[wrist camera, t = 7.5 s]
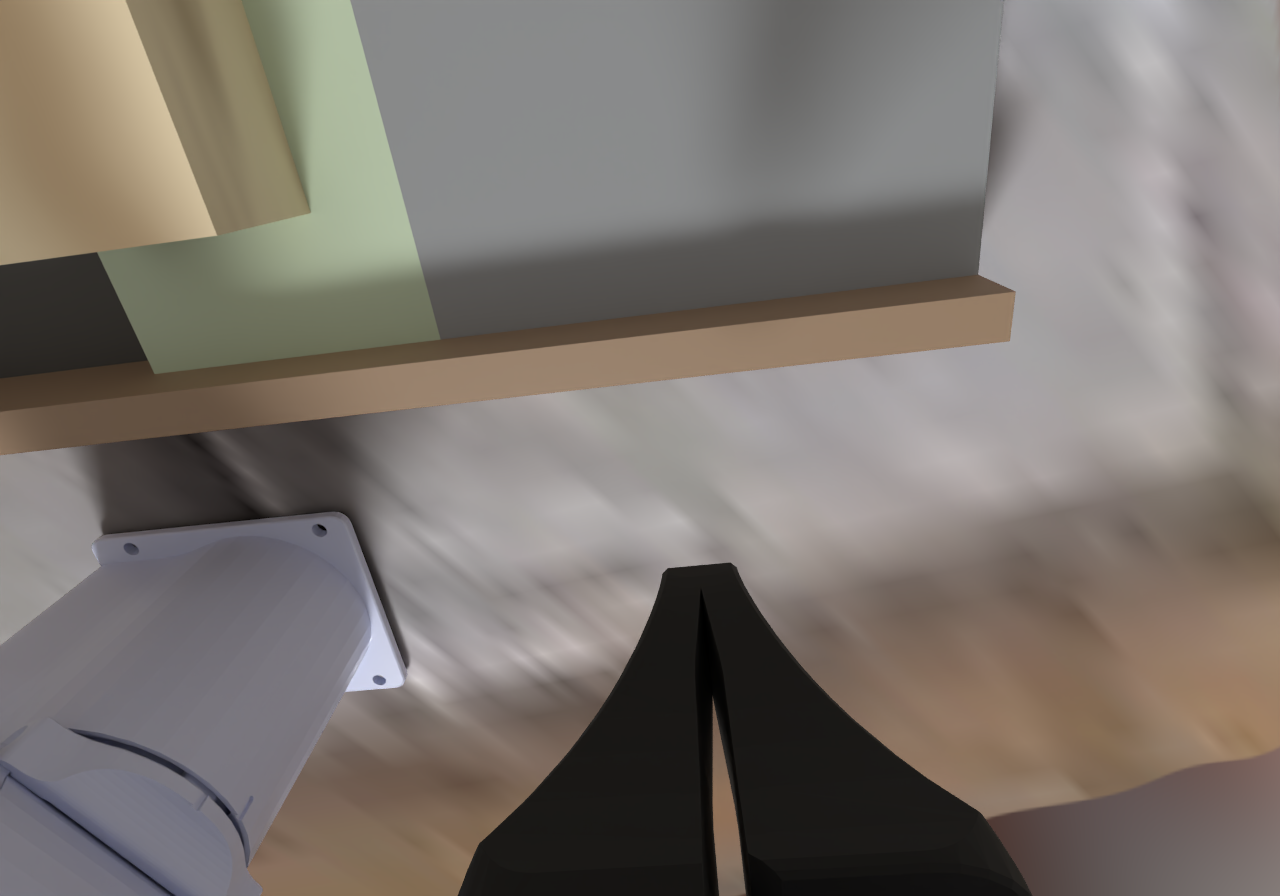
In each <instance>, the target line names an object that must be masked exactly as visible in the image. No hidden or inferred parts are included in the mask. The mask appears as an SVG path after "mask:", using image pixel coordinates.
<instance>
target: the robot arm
mask: <svg viewBox="0 0 1280 896" xmlns="http://www.w3.org/2000/svg"><path fill="white" fill-rule="evenodd" d="M317 524H321V525H323V526H324V527H325V528H326V529H327V531H325V530H322V529H320V528H319V527H318V525H317ZM133 544H134V545H136V546H137V547H135V546H134V545H133ZM92 551H93V553H94V555H95V557H96V558H97V560H98V562H99V564H100V565H101V567H100V568H98V569H97V570H96V571H95V572H93V573H92V574H91V575H90V576H88V577H87V578H86V579H84V580H83V581H82V582H81V583H79V584H78V585H77V586H76V587H74V588H73V589H72V590H70V591H69V592H68V593H67V594H65V595H64V596H63V597H62V598H60V599H59V600H58V601H56V602H55V603H54V604H53V605H51V606H50V607H49V608H48V609H46V610H45V611H44V612H42V613H41V614H40V615H39V616H37V617H36V618H35V619H34V620H32V621H31V622H30V623H28V624H27V625H26V626H25V627H23V628H22V629H21V630H20V631H18V632H17V633H16V634H14V635H13V636H12V637H11V638H9V639H8V640H7V641H6V642H4V643H3V644H2V645H0V896H260V895H261V893H262V891H263V889H262V887H261V886H260V885H259V884H258V883H257V882H256V881H255V880H254V879H253V878H252V876H251V875H250V874H249V872H248V870H247V867H248V865H249V864H250V862H251V860H252V858H253V856H254V855H255V853H256V851H257V849H258V847H259V846H260V844H261V842H262V840H263V838H264V837H265V835H266V833H267V831H268V829H269V828H270V826H271V824H272V822H273V820H274V819H275V817H276V815H277V813H278V811H279V810H280V808H281V806H282V804H283V802H284V801H285V799H286V797H287V795H288V793H289V792H290V790H291V788H292V786H293V784H294V783H295V781H296V779H297V777H298V775H299V774H300V772H301V770H302V768H303V766H304V765H305V763H306V761H307V759H308V757H309V756H310V754H311V752H312V750H313V748H314V747H315V745H316V743H317V741H318V739H319V737H320V736H321V734H322V732H323V730H324V728H325V727H326V725H327V723H328V721H329V719H330V718H331V716H332V714H333V712H334V710H335V709H336V707H337V705H338V703H339V701H340V700H341V698H342V696H343V694H344V692H347V691H360V690H372V689H385V688H396V687H400V686H401V685H403V684H404V681H405V679H406V677H407V671H406V668H405V665H404V663H403V660H402V657H401V655H400V652H399V649H398V646H397V644H396V641H395V638H394V636H393V633H392V630H391V628H390V625H389V622H388V620H387V617H386V614H385V612H384V609H383V606H382V604H381V601H380V598H379V596H378V593H377V590H376V588H375V585H374V582H373V580H372V577H371V574H370V571H369V569H368V566H367V563H366V561H365V558H364V555H363V553H362V550H361V547H360V545H359V542H358V539H357V537H356V534H355V531H354V529H353V526H352V523H351V521H350V520H349V518H348V517H347V516H346V515H344V514H342V513H340V512H324V513H314V514H304V515H295V516H285V517H275V518H265V519H255V520H245V521H235V522H226V523H216V524H206V525H196V526H186V527H176V528H166V529H157V530H147V531H137V532H127V533H117V534H107V535H103V536H101V537H99V538H98V539H97V540H95V541H94V542H93V543H92ZM378 675H381V676H383V677H384V678H383V677H380V676H378ZM712 695H713V698H712ZM713 700H714V705H715V710H716V715H717V720H718V725H719V730H720V735H721V740H722V745H723V750H724V755H725V759H726V764H727V769H728V774H729V779H730V784H731V789H732V794H733V799H734V804H735V810H736V816H737V822H738V829H739V837H740V846H741V854H742V863H743V872H744V881H745V889H746V896H1032V894H1031V892H1030V890H1029V888H1028V886H1027V884H1026V882H1025V880H1024V878H1023V876H1022V875H1021V873H1020V871H1019V870H1018V868H1017V866H1016V864H1015V863H1014V861H1013V860H1012V858H1011V857H1010V855H1009V854H1008V852H1007V851H1006V849H1005V847H1004V846H1003V844H1002V842H1001V841H1000V839H999V838H998V837H997V835H996V834H995V832H994V831H993V829H992V828H991V826H990V825H989V824H988V822H987V821H986V819H985V818H984V817H983V815H982V814H981V813H980V812H979V811H977V810H976V809H974V808H973V807H971V806H969V805H968V804H966V803H965V802H963V801H962V800H960V799H959V798H957V797H955V796H954V795H952V794H951V793H949V792H948V791H946V790H945V789H943V788H941V787H940V786H938V785H937V784H935V783H934V782H932V781H931V780H929V779H927V778H926V777H925V776H923V775H922V774H921V773H919V772H918V771H917V770H915V769H914V768H913V767H911V766H910V765H909V764H907V763H906V762H905V761H903V760H902V759H901V758H899V757H898V756H896V755H895V754H894V753H893V752H892V751H890V750H889V749H888V748H887V747H886V746H884V745H883V744H882V743H881V742H880V741H878V740H877V739H876V738H875V737H874V736H873V735H871V734H870V733H869V732H868V731H867V730H865V729H864V728H863V727H862V726H861V725H859V724H858V723H857V722H856V721H855V720H854V719H852V718H851V717H850V716H849V715H848V714H847V713H846V712H845V711H844V710H843V709H842V708H841V707H840V706H839V705H838V704H837V703H836V702H835V701H834V700H832V698H831V697H830V696H829V695H828V694H827V693H826V692H825V691H824V690H823V689H822V688H821V687H820V686H819V685H818V684H817V683H816V682H815V681H814V680H813V679H812V678H811V676H810V675H809V674H808V673H807V672H806V671H805V670H804V669H803V667H802V666H801V665H800V664H799V663H798V662H797V660H796V659H795V658H794V657H793V655H792V654H791V653H790V652H789V651H788V649H787V648H786V647H785V646H784V644H783V643H782V642H781V640H780V639H779V638H778V636H777V635H776V634H775V632H774V631H773V629H772V628H771V627H770V625H769V624H768V622H767V621H766V620H765V618H764V617H763V615H762V614H761V612H760V611H759V609H758V608H757V606H756V604H755V603H754V601H753V599H752V598H751V596H750V594H749V593H748V591H747V589H746V587H745V586H744V584H743V582H742V580H741V577H740V575H739V573H738V570H737V567H735V566H734V565H733V564H732V563H721V564H710V565H699V566H688V567H677V568H668V569H667V570H666V571H665V572H664V573H663V574H662V580H661V584H660V588H659V591H658V595H657V598H656V601H655V603H654V606H653V609H652V612H651V614H650V617H649V619H648V621H647V624H646V626H645V628H644V631H643V633H642V635H641V637H640V640H639V642H638V644H637V646H636V648H635V650H634V652H633V654H632V656H631V658H630V659H629V661H628V663H627V665H626V667H625V669H624V671H623V673H622V675H621V676H620V678H619V680H618V682H617V683H616V685H615V687H614V688H613V690H612V692H611V693H610V695H609V697H608V698H607V700H606V701H605V703H604V704H603V706H602V707H601V709H600V710H599V712H598V713H597V715H596V716H595V718H594V719H593V720H592V722H591V723H590V724H589V726H588V727H587V728H586V730H585V731H584V733H583V734H582V735H581V737H580V738H579V739H578V741H577V742H576V743H575V745H574V746H573V747H572V748H571V750H570V751H569V752H568V753H567V755H566V756H565V757H564V758H563V759H562V760H561V762H560V763H559V764H558V765H557V766H556V767H555V768H554V769H553V771H552V772H551V773H550V774H549V775H548V776H547V777H546V778H545V779H544V781H543V782H542V783H541V784H540V785H539V786H538V787H537V788H536V790H535V791H534V792H533V793H532V794H531V795H530V796H529V797H528V798H527V799H526V800H525V801H524V802H523V803H522V804H521V805H520V806H519V807H518V808H517V809H516V810H515V811H514V812H513V813H512V814H511V815H509V816H508V817H507V818H506V819H505V820H504V821H503V822H502V823H501V824H500V825H499V826H498V827H497V828H496V829H495V830H494V831H493V832H492V833H490V834H489V835H488V836H487V837H486V838H485V839H484V840H483V841H482V842H480V843H479V845H478V847H477V849H476V852H475V854H474V856H473V859H472V861H471V863H470V866H469V868H468V870H467V873H466V876H465V878H464V881H463V884H462V886H461V889H460V891H459V894H458V896H719V890H718V878H717V867H716V855H715V843H714V832H713V807H712V761H713Z"/></svg>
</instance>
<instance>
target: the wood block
mask: <svg viewBox="0 0 1280 896" xmlns="http://www.w3.org/2000/svg"><path fill="white" fill-rule="evenodd" d="M309 213H311V212H310V209H309V206H308V203H307V200H306V197H305V194H304V191H303V188H302V185H301V181H300V178H299V175H298V172H297V169H296V166H295V163H294V160H293V157H292V154H291V151H290V148H289V145H288V142H287V139H286V135H285V132H284V129H283V126H282V123H281V120H280V117H279V114H278V111H277V108H276V105H275V102H274V99H273V96H272V93H271V89H270V86H269V83H268V80H267V77H266V74H265V71H264V68H263V65H262V62H261V59H260V56H259V53H258V50H257V47H256V43H255V40H254V37H253V34H252V31H251V28H250V25H249V22H248V19H247V16H246V13H245V10H244V7H243V4H242V1H241V0H0V265H6V264H13V263H20V262H28V261H35V260H42V259H50V258H57V257H64V256H72V255H79V254H86V253H94V252H101V251H109V250H116V249H123V248H131V247H138V246H145V245H153V244H160V243H167V242H175V241H182V240H189V239H197V238H204V237H211V236H218V235H222V234H226V233H230V232H235V231H239V230H243V229H247V228H251V227H255V226H259V225H264V224H268V223H272V222H276V221H280V220H284V219H289V218H293V217H297V216H301V215H305V214H309Z"/></svg>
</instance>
